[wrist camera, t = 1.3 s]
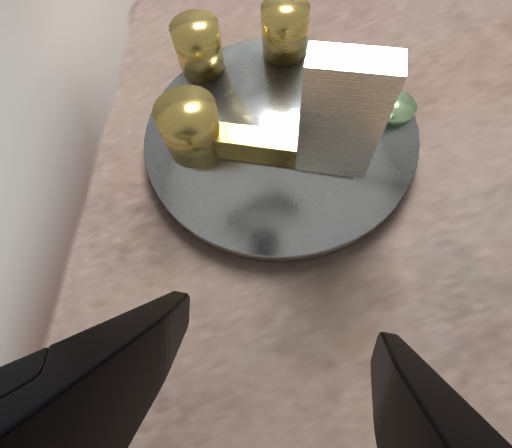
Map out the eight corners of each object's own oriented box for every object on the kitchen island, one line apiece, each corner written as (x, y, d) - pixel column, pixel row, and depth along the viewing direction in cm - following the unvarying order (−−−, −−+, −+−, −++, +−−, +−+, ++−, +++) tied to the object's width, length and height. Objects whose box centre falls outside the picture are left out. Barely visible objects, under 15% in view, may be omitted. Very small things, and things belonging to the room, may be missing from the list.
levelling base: (412, 287, 22) (448, 262, 17) (109, 233, 25) (70, 200, 21) (414, 59, 31) (439, 1, 26) (190, 39, 34) (176, -15, 29)
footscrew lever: (161, 164, 26) (108, 65, 18) (178, 120, 28) (137, 12, 19) (362, 192, 24) (406, 95, 16) (366, 143, 26) (408, 33, 17)
